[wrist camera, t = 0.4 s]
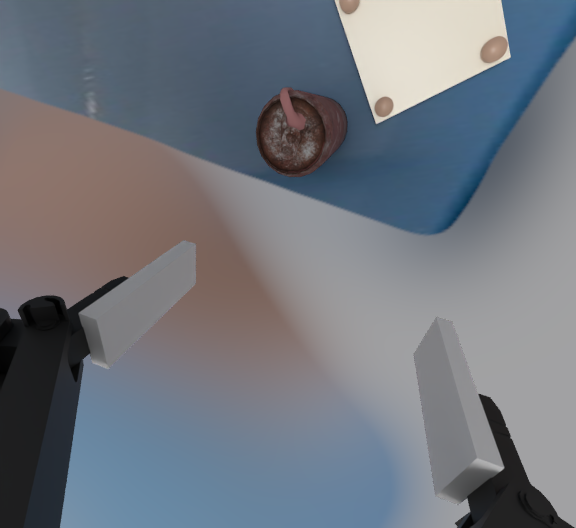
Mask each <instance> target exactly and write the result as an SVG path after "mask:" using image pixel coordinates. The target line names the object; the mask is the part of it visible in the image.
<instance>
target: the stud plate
mask: <svg viewBox="0 0 576 528" xmlns="http://www.w3.org/2000/svg"><path fill="white" fill-rule="evenodd" d="M335 3H336V6H337V9H338V12H339V15H340V18H341V21H342V24H343V27H344V30H345V33H346V36H347V39H348V42H349V45H350V48H351V51H352V54H353V57H354V59H355V62H356V65H357V68H358V71H359V74H360V77H361V80H362V83H363V86H364V89H365V92H366V95H367V98H368V101H369V104H370V107H371V110H372V113H373V116H374V119H375V122H376V124H378V123H380V122H382V121H384V120H386V119H388V118H390V117H392V116H394V115H396V114H398V113H400V112H402V111H404V110H406V109H408V108H410V107H412V106H414V105H416V104H418V103H420V102H422V101H424V100H426V99H428V98H430V97H432V96H434V95H436V94H438V93H440V92H442V91H444V90H446V89H448V88H450V87H452V86H454V85H456V84H458V83H460V82H462V81H464V80H466V79H468V78H470V77H472V76H474V75H476V74H478V73H480V72H482V71H484V70H486V69H488V68H490V67H492V66H494V65H496V64H498V63H500V62H502V61H504V60H506V59H508V58H510V57H511V56H510V51H509V45H508V39H507V33H506V27H505V21H504V15H503V9H502V3H501V0H335Z"/></svg>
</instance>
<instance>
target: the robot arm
mask: <svg viewBox="0 0 576 528" xmlns="http://www.w3.org/2000/svg"><path fill="white" fill-rule="evenodd" d="M195 284H196V244H194V243H191V242H188V241H185V240H183V241H182V242H181V243H179V244H177V245H176V246H175V247H173V248H172V249H170V250H169V251H167V252H166V253H164V254H163V255H161V256H160V257H159V258H157V259H156V260H154V261H153V262H152V263H150V264H148V265H147V266H146V267H144V268H143V269H141V270H140V271H138V272H137V273H136V274H134V275H133V276H131V277H130V278H128V277H125V276H123V277H120V278H117V279H115V280H111V281H110V282H108V283H107V284H105V285H104V286H102V288H99V289H98V290H96V291H95V292H94V293H92V294H90V295H89V296H87V297H86V298H84V299H83V300H81V301H79V302H78V303H76V304H75V305H74V306H72V307H70V308H69V309H67V308H66V305H65V302H64V300H63V299H62V298H61V297H58V296H41V297H36V298H34V299H31V300H29V301H27V302H25V303H24V304H22V305H21V306H20V308H19V309H18V312H19V315H20V317H21V319H22V320H20V319H11V318H10V316H9V314H8V312H7V311H6V310H4V309H2V308H0V528H60V522H61V515H62V509H63V502H64V495H65V488H66V482H67V475H68V468H69V461H70V454H71V447H72V441H73V434H74V426H75V419H76V413H77V406H78V400H79V393H80V386H81V379H82V372H83V366H84V365H83V359H84V358H85V357H86V356H87V355H88V354H90V356H91V359H92V362H93V363H94V364H97V365H99V366H102V367H105V368H107V369H109V368H110V367H111V366H112V365H113V364H114V363H115V362H116V361H117V360H118V359H119V358H120V357H121V356H122V355H123V354H124V353H125V352H126V351H127V350H128V349H129V348H130V347H131V346H132V345H133V344H134V343H135V342H137V340H139V339H140V338H141V337H142V335H144V334H145V332H147V331H148V330H149V329H150V328H151V327H152V326H153V325H154V324H155V323H156V322H157V321H158V320H159V319H160V318H161V317H162V316H163V315H164V314H165V313H166V312H167V311H168V310H169V309H170V308H171V307H172V306H173V305H174V304H175V303H176V302H177V301H178V300H179V299H180V298H181V297H182V296H183V295H184V294H185V293H186V292H188V291H189V290H190V289H191V288H192V286H194V285H195ZM414 359H415V366H416V373H417V379H418V385H419V392H420V399H421V405H422V412H423V418H424V425H425V431H426V438H427V444H428V451H429V458H430V464H431V471H432V477H433V484H434V490H435V496H437V497H439V498H442V499H444V500H447V501H449V502H452V503H454V504H457V505H459V504H460V503H461V502H463V501H464V500H465V499H466V498H468V503H469V507H470V511H471V512H470V513H468V514H467V515H465V516H464V517H463V518H461V519H460V520H458V521H457V522H456V523H455V524H456V525H457V526H458V527H457V528H574V527H572V526H571V525H569V524H568V523H567V522H565V521H564V520H562V519H561V518H560V517H558V515H557V513H556V511H555V509H554V508H553V506H552V505H551V503H550V502H549V501H548V500H547V499H546V497H545V496H544V495H543V494H542V493H541V492H540V491H539V490H537V489H536V488H535V487H533V486H532V485H531V484H530V482H529V480H528V477H527V475H526V472H525V470H524V467H523V465H522V463H521V460H520V458H519V455H518V453H517V451H516V448H515V445H514V443H513V441H512V439H511V438H510V433H509V431H508V428H507V427H506V424H505V421H504V419H503V416H502V414H501V411H500V410H499V409H498V407H497V406H496V405H495V403H494V402H493V401H492V399H491V398H490V397H487V396H484V395H481V394H478V392H477V389H476V387H475V384H474V381H473V378H472V376H471V373H470V370H469V367H468V364H467V361H466V358H465V356H464V353H463V350H462V347H461V344H460V342H459V339H458V336H457V333H456V330H455V328H454V325H453V322H452V321H449V320H445V319H442V318H439V317H436V318H435V320H434V322H433V323H432V325H431V327H430V328H429V330H428V331H427V333H426V335H425V336H424V338H423V340H422V341H421V343H420V345H419V346H418V348H417V350H416V351H415V353H414Z"/></svg>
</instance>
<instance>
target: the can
mask: <svg viewBox="0 0 576 528" xmlns="http://www.w3.org/2000/svg"><path fill="white" fill-rule="evenodd" d="M346 133H347V118H346V114H345V112H344V110H343V109H342V107H341V106H340V104H338V103H337V102H336V101H334V100H333V99H330V98H327V97H323V96H319V95H315V94H311V93H307V92H303V91H299V90H295V91H294V90H293V89H292V88H287V87H285V88H282V90H281V92H280V94H279V95H276V96H274V97H273V98H272V99H271V100H270V101H269V102H268V103H267V104H266V105H265V106H264V108H263V110H262V112H261V114H260V116H259V118H258V123H257V128H256V137H257V146H258V148H259V151H260V153H261V156H262V157H263V159H264V160H265V161H266V163H267V164H268V166H269V167H271V168H272V169H273V170H275V171H276V172H277V173H279V174H282V175H285V176H288V177H302V176H305V175H307V174H310V173H312V172H313V171H315V170H316V169H317V168H319V167H320V166H321V165H322V164H323V163H324V162H325V161H326V160H327V159H328V158H329V157H330V156H331V155H332V154H333V153H334V152H335V151H336V150H337V149H338V148H339V147H340V145H341V144H342V142H343V141H344V139H345V136H346Z"/></svg>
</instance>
